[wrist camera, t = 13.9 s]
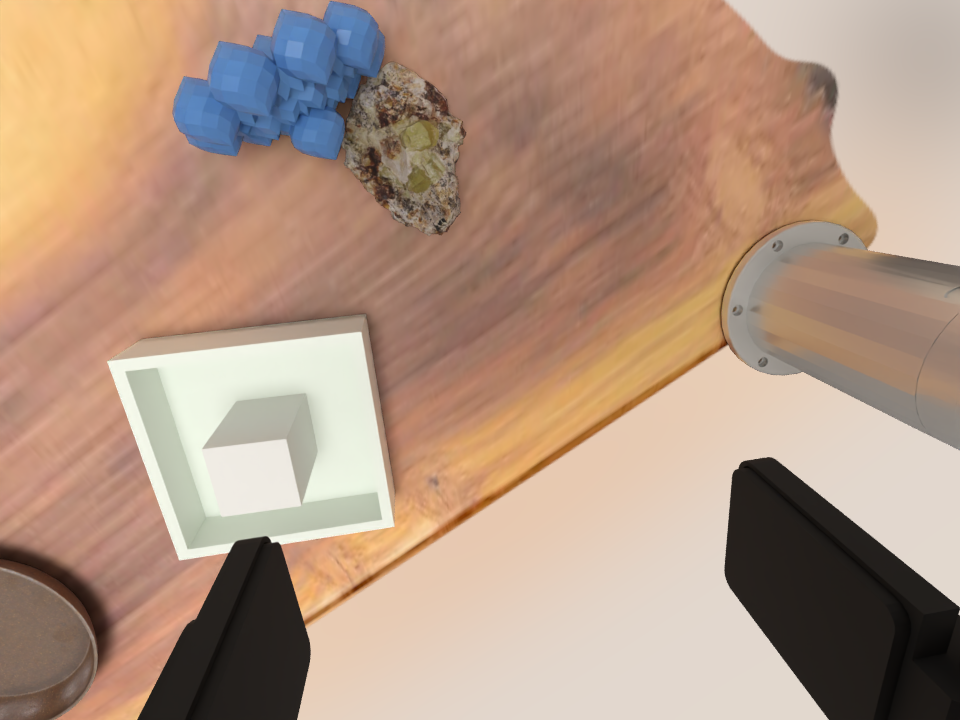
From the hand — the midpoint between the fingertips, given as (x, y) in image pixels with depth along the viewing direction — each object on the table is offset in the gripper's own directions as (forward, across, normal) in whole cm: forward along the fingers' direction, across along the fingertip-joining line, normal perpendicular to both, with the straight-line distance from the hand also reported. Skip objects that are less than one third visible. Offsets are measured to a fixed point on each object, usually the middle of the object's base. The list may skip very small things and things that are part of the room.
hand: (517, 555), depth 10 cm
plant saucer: (+28, +40, +24) cm, 55 cm away
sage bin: (+29, +14, +9) cm, 33 cm away
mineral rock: (+30, +1, -8) cm, 31 cm away
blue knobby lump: (+29, +7, -12) cm, 32 cm away
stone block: (+28, +14, +9) cm, 33 cm away
